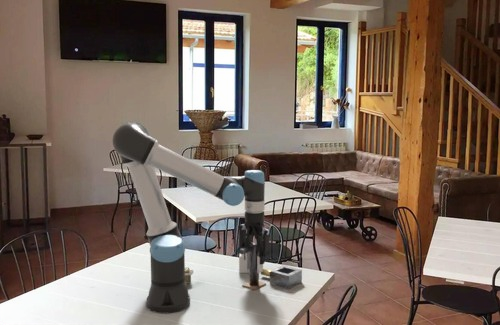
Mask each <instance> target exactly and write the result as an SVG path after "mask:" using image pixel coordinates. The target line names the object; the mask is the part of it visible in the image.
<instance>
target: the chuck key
mask: <svg viewBox="0 0 500 325" xmlns="http://www.w3.org/2000/svg"><path fill="white" fill-rule="evenodd" d="M248 252H250V273H248V274H249V281H248V282H249V284H250V285H252V286H257V285H259V280H260V276H259V275H260V273H257V256H258V255H259V252H258V247H257V242H253V243H250V246H247V247H245V248H242V249H240V248H239V255H240V254H245V253H248Z"/></svg>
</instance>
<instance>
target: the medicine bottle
mask: <svg viewBox="0 0 500 325" xmlns="http://www.w3.org/2000/svg"><path fill="white" fill-rule="evenodd" d="M251 243H254V241H253V242H251ZM238 273H239V274H250V269H248V270H246V269H245V260H244V254H240V253H239V256H238Z"/></svg>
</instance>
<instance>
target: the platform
mask: <svg viewBox="0 0 500 325" xmlns="http://www.w3.org/2000/svg"><path fill="white" fill-rule="evenodd" d="M193 273H194V270H193V269H191V268H189V266H188V267H187V266H186V269H185V284H186V285H189V283H192V275H194V274H193Z"/></svg>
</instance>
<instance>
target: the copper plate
mask: <svg viewBox="0 0 500 325" xmlns="http://www.w3.org/2000/svg"><path fill="white" fill-rule="evenodd" d="M266 285H267V283H266V282H263V281H259V285H257V286H252V285H250V284H249V281H247V282H245V283H243V284H242V286H241V287H242V288H246V289H250V290H253V291H256V290H258V289H260V288H262V287H264V286H266Z"/></svg>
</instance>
